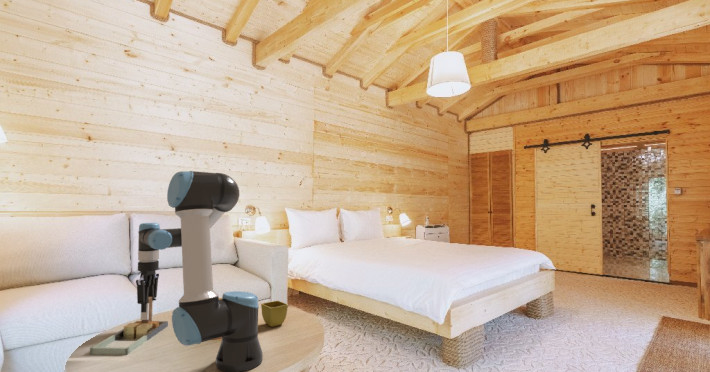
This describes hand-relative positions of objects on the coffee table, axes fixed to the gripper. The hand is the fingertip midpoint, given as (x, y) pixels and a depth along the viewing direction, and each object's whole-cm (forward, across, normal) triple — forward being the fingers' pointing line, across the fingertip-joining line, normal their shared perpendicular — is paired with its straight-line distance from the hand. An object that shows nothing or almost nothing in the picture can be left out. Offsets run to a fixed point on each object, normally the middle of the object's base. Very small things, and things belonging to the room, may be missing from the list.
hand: (146, 318), depth 152 cm
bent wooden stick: (+5, 0, 0) cm, 5 cm away
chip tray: (+6, +18, 0) cm, 18 cm away
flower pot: (+6, -11, +50) cm, 51 cm away
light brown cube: (+5, +6, +2) cm, 8 cm away
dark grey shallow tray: (+6, +4, 0) cm, 7 cm away
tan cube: (+5, +6, -3) cm, 8 cm away
